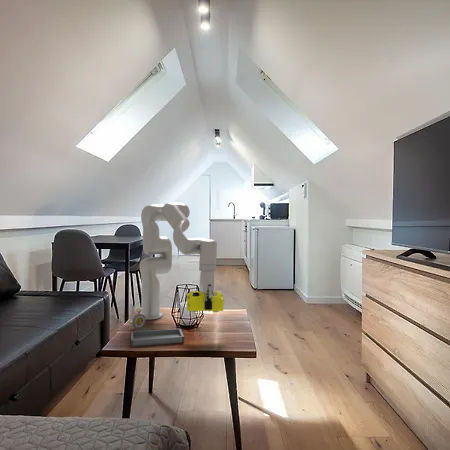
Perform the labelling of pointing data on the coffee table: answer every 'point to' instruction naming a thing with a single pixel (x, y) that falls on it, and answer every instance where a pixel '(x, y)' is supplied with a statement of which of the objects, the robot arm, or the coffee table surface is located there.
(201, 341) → the coffee table surface
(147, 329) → the pocket watch
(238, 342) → the coffee table surface
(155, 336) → the tray
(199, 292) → the yellow toy chassis
